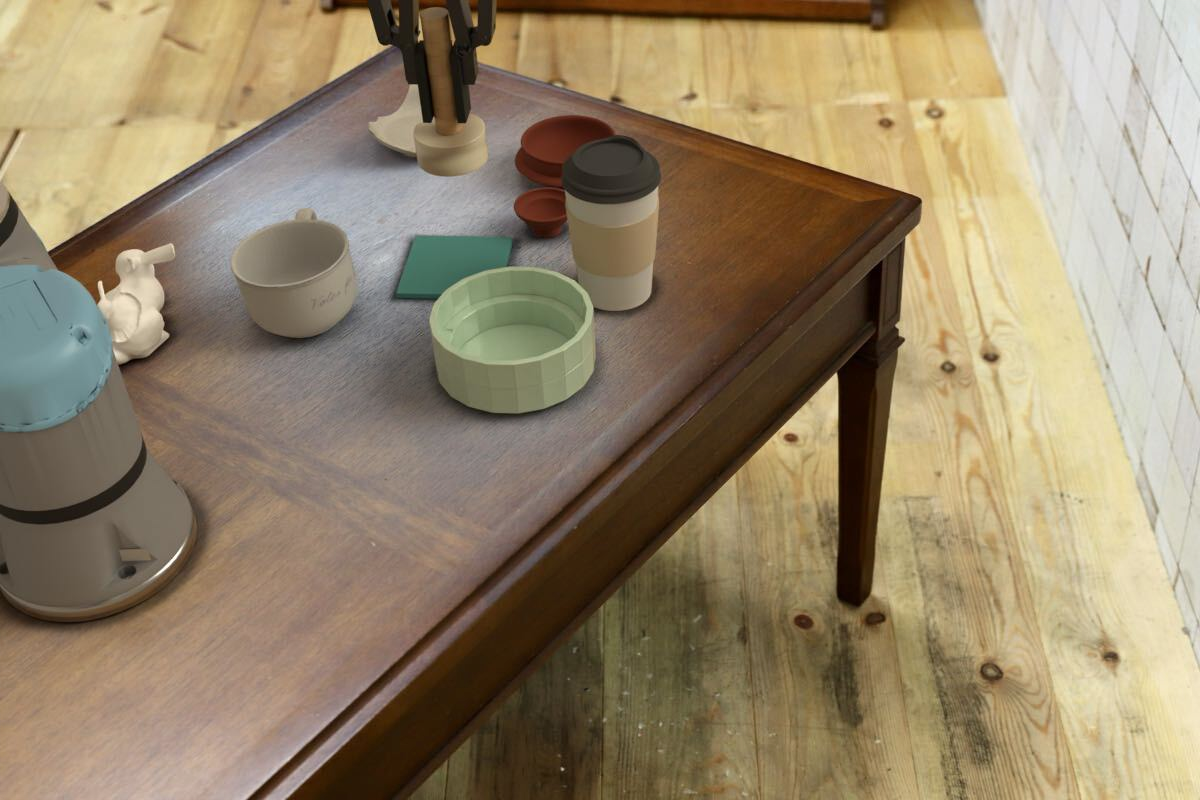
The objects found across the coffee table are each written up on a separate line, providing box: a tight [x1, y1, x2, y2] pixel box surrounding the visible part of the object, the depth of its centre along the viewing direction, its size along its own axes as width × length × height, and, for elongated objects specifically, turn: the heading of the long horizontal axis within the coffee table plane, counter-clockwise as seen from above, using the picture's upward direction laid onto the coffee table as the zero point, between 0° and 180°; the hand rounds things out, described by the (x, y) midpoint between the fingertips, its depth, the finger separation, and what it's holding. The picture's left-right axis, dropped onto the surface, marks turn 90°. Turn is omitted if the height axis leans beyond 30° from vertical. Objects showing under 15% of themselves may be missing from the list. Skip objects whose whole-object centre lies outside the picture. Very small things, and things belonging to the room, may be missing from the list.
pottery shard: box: [367, 85, 423, 158], centre depth 154 cm, size 10×11×5 cm
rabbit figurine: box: [96, 242, 176, 366], centre depth 126 cm, size 12×8×10 cm, turn 165°
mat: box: [395, 234, 514, 300], centre depth 136 cm, size 10×10×1 cm
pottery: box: [513, 114, 617, 239], centre depth 144 cm, size 12×20×4 cm, turn 168°
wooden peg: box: [413, 6, 489, 178], centre depth 120 cm, size 6×6×14 cm
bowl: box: [428, 266, 597, 414], centre depth 122 cm, size 14×14×6 cm
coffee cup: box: [561, 134, 662, 312], centre depth 127 cm, size 9×9×15 cm
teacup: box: [229, 207, 358, 339], centre depth 129 cm, size 14×11×8 cm
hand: (447, 115), depth 122 cm, fingers closed on wooden peg, 2 cm apart
